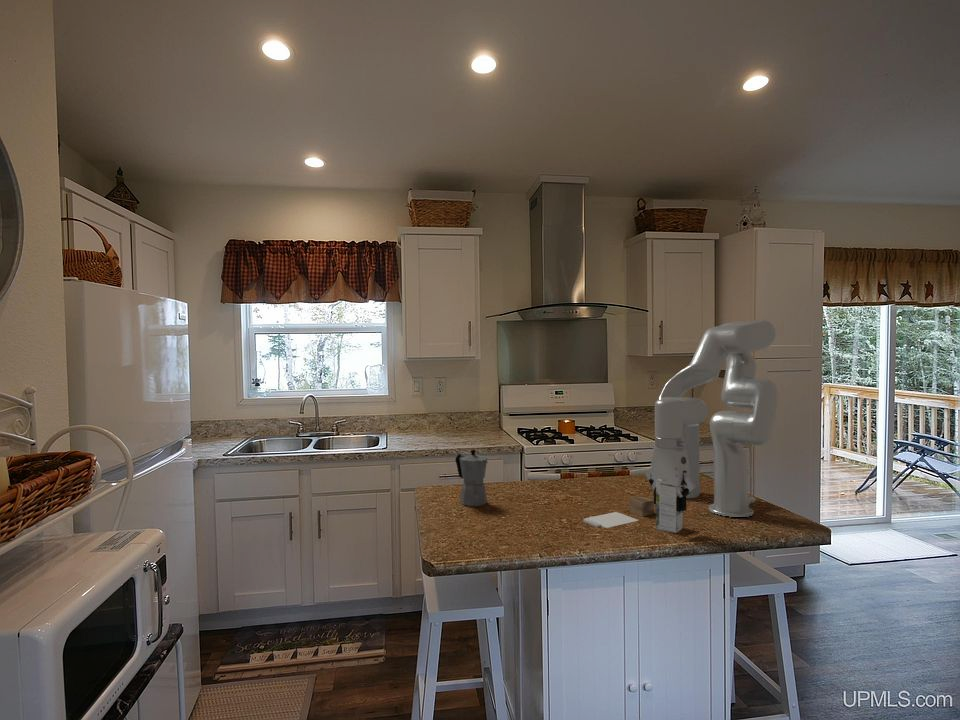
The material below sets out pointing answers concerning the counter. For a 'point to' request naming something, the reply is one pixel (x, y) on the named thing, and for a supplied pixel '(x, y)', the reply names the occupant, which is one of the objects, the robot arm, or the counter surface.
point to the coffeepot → (472, 478)
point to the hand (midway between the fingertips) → (669, 506)
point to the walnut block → (642, 506)
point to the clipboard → (609, 520)
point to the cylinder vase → (693, 456)
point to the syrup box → (667, 508)
